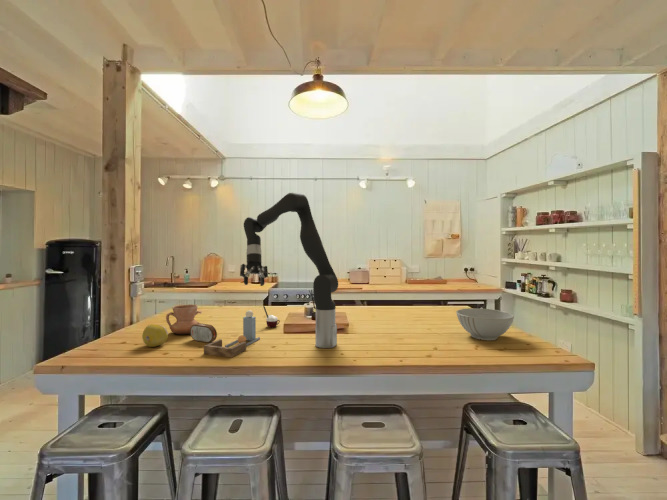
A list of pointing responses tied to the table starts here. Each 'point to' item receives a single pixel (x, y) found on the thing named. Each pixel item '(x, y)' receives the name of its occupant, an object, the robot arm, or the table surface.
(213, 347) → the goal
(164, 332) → the fruit
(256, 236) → the robot arm
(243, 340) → the ball
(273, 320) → the cocoa
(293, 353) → the table surface
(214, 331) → the tin
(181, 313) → the ceramic jug
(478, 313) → the decorative bowl
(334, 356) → the table surface
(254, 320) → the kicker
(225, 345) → the lane
